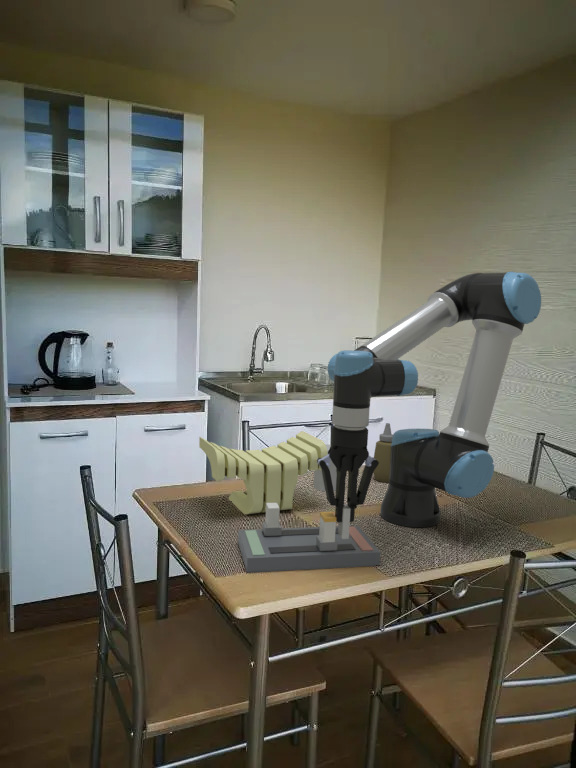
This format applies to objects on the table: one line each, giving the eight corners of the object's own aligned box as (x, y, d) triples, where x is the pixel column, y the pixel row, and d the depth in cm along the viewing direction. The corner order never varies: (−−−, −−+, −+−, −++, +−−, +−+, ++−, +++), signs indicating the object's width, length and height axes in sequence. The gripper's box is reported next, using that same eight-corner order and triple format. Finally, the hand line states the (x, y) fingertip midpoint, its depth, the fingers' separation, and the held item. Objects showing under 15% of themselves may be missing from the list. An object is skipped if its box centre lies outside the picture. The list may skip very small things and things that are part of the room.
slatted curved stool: (216, 522, 146) (217, 451, 144) (198, 501, 160) (199, 436, 158) (325, 509, 158) (328, 443, 156) (299, 491, 173) (302, 430, 170)
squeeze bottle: (367, 480, 186) (370, 423, 183) (377, 474, 193) (380, 419, 190) (391, 485, 182) (395, 427, 179) (401, 479, 189) (405, 423, 186)
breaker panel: (357, 537, 140) (359, 498, 139) (379, 565, 125) (382, 522, 124) (238, 542, 134) (239, 501, 133) (246, 572, 120) (248, 526, 118)
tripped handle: (332, 543, 128) (334, 511, 127) (337, 550, 124) (338, 517, 123) (316, 543, 127) (317, 512, 126) (320, 551, 123) (322, 518, 122)
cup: (324, 481, 183) (326, 443, 181) (346, 487, 178) (348, 448, 176) (308, 487, 177) (310, 447, 175) (330, 493, 172) (332, 452, 170)
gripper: (373, 422, 128) (367, 528, 131) (314, 422, 125) (309, 530, 128) (386, 430, 120) (379, 542, 124) (324, 430, 118) (317, 544, 121)
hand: (343, 536), depth 126 cm, fingers closed
